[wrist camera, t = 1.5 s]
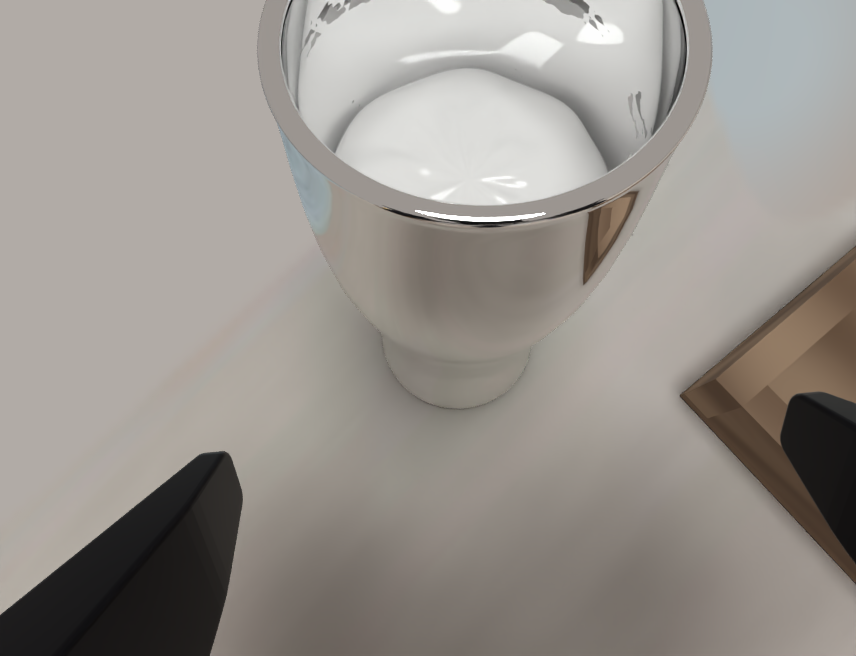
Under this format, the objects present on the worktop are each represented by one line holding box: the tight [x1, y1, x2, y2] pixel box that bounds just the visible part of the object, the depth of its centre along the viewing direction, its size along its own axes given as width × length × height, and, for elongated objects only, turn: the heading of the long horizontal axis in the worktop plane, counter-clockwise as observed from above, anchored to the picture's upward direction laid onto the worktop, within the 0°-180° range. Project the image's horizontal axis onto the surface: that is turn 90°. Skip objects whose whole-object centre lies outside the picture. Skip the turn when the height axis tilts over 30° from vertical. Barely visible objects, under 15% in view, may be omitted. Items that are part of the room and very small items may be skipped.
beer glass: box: [257, 0, 712, 409], centre depth 15 cm, size 7×7×15 cm
